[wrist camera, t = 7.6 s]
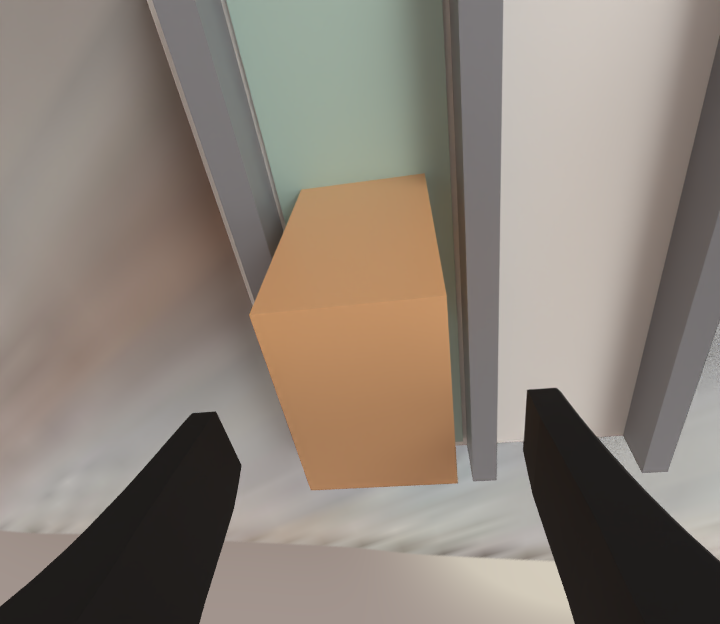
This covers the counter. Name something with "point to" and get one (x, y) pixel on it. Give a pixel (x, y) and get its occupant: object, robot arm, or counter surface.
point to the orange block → (361, 336)
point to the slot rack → (493, 179)
